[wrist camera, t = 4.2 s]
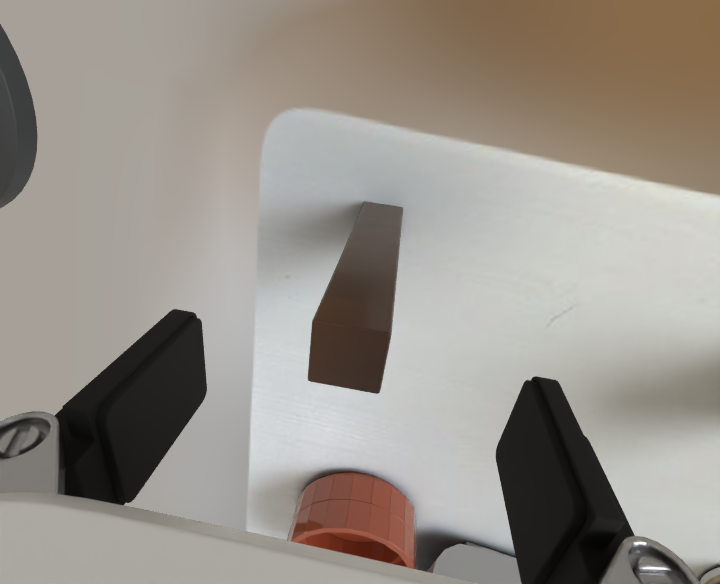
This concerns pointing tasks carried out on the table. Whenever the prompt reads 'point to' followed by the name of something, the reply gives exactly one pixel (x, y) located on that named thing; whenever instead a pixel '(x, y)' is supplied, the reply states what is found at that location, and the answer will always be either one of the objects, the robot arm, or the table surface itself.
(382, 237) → the stick
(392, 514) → the bowl
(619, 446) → the table surface
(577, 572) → the robot arm
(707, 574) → the pill bottle
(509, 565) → the alarm clock
